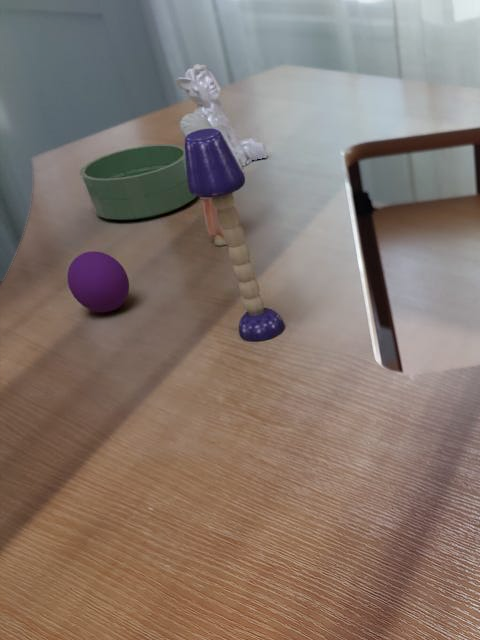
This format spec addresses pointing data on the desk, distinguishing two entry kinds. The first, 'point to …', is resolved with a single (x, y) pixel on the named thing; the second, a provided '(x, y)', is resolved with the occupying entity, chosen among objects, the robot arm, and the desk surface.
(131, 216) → the bowl
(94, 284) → the ball
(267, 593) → the desk surface
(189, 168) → the toy lamp
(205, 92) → the white creature statuette
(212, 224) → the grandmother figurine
